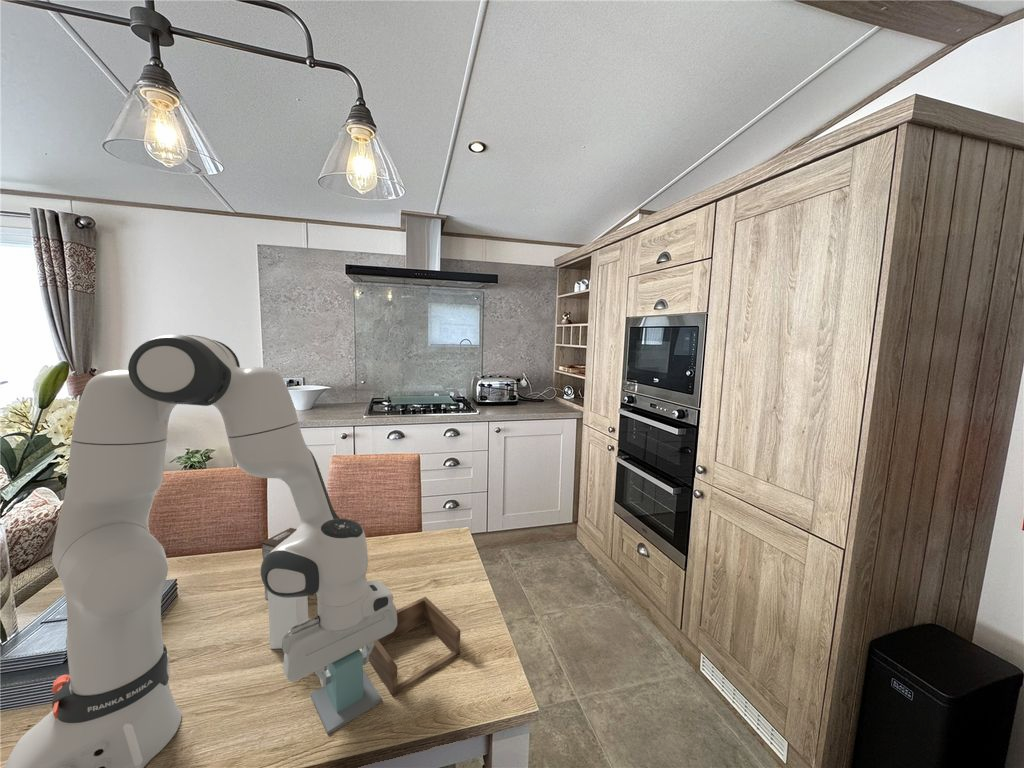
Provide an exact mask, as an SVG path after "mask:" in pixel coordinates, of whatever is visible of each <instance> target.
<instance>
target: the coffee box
mask: <svg viewBox="0 0 1024 768" xmlns="http://www.w3.org/2000/svg"><path fill="white" fill-rule="evenodd" d="M296 530H297V528H293V527H289V528H288V529H287V528H286V529H285V530H284V531H282V532H279V533H277V534H275V535H273V536H271V537H270V538H268V539H266V540H263V541H262V542H261V550H262V551H261V553H262V561H263V560H264V558H265V557H266V556H267V555H268V554H269V553H270V552H271V551H272V550H273V549H274V548H275V547H277V546H278V545H279V544H280V543H281V542H283V541H284V540H285V539H287V538H288V537H289V536H290V535H291V534H293V533H294V532H295V531H296ZM263 585H264V584H263ZM264 599H265V600H268V590H267V588H266V587H265V585H264Z"/></svg>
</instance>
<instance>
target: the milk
mask: <svg viewBox="0 0 1024 768" xmlns="http://www.w3.org/2000/svg"><path fill="white" fill-rule="evenodd" d="M308 599H309V598H308V596H304V597H291V598H285V597H279V596H276V595H274V594H272V593H271V592H269V591H268V599H267V605H268V608H267V609H268V625H269V626H268V627H269V645H270V646H269V648H270V649H271V650H273V649H277V650H278V649H279V650H280V649H282V639H283V637H284V636H285V634H286V633H287V632H289V631H290V630H291V628H292V627H294V626H296V625H298V624H302V623H304V622H306V621H308V620H309V608H308V607H309V605H308V604H309V603H308V601H309V600H308Z"/></svg>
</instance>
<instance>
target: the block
mask: <svg viewBox="0 0 1024 768" xmlns="http://www.w3.org/2000/svg"><path fill="white" fill-rule="evenodd" d="M361 652H362V650H361V649H359V650H357V651H355V652H353V653H351V654H349V655H347V656H345V657H343V658H341V659H339V660H337V661H335V662H333V663H331V664H329V665H327V666H326V670H328V671H329V673H330V674H331V683H330V684H328V685H327V688H328V696H329V699H330V701H331V703H332V705H333V707H334V709H335V711H336V713H338V712H339V711H341V710H343V709H344V708H346V707H348V706H350V705H351V704H353V703H355V702H356V701H358V700H360V699H361V698H363V670H364V665H363V654H362V653H361Z"/></svg>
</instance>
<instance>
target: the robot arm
mask: <svg viewBox="0 0 1024 768" xmlns="http://www.w3.org/2000/svg"><path fill="white" fill-rule="evenodd" d="M127 368H128V369H114V370H108V371H103V372H102V373H99V374H96V375H94V376H93V377H92V378H90V379H89V380H88V382H86V384H85V387H84V389H83V392H82V394H81V395H80V396H81V397H80V400H79V402H78V406H77V409H76V413H75V417H74V419H73V420H74V421H73V427H72V430H71V431H72V432H71V441H70V448H69V449H70V450H69V458H68V465H67V466H68V468H67V477H66V478H67V479H66V486H65V492H64V498H63V501H62V505H61V509H60V512H59V517H58V521H57V525H56V529H55V530H56V531H55V536H54V541H53V546H52V547H53V548H52V553H51V554H52V556H51V560H52V565H53V567H54V569H55V571H56V573H57V575H58V578H59V580H60V582H61V586H62V589H63V592H64V596H65V602H66V619H67V620H66V623H67V624H66V638H65V639H66V640H65V646H66V654H67V655H66V656H67V664H68V672H69V674H62V675H60V676H58V677H57V678H56V679H55V680H54V681H53V683H52V687H51V693H52V694H53V697H52V700H51V703H52V704H51V706H52V707H51V708H52V710H51V711H50V712H49V713H48V714H47V715H45V716H44V717H43V718H41V719H40V720H39V721H38V722H37V723H36V724H35V725H34V726H33V727H31V728H30V729H29V730H27V731H26V732H25V733H24V734H23V735H22V736H21V737H20V739H18V741H17V743H16V744H15V745H14V747H13V749H12V750H11V752H10V755H9V757H8V758H7V761H6V763H5V765H4V768H145V767H146V765H148V763H149V762H150V761H151V760H152V759H153V758H154V757H155V756H157V755H158V754H159V753H160V752H161V751H162V750H163V749H164V748H165V747H166V746H167V745H168V743H169V742H170V741H171V740H172V739H173V737H174V736H175V735H176V733H177V731H178V729H179V727H180V724H181V722H182V712H181V709H180V708H179V707H178V705H177V703H176V701H175V699H174V697H173V694H172V691H171V687H170V685H169V679H170V673H171V672H170V659H169V658H170V657H169V653H168V650H167V647H166V645H165V644H164V639H163V628H162V627H163V625H162V611H161V609H162V601H163V600H162V598H163V592H164V588H165V587H164V585H165V582H166V579H167V577H168V572H169V567H168V560H167V556H166V555H167V554H166V551H165V549H164V546H163V545H162V543H161V542H160V541H158V539H157V538H156V537H154V536H153V534H152V533H151V530H150V528H149V517H150V513H151V509H152V505H153V503H154V500H155V497H156V494H157V492H158V490H159V489H160V488H161V486H162V484H163V478H164V466H165V460H166V459H165V457H166V449H167V440H168V439H167V438H168V427H169V421H170V416H171V413H172V411H173V409H174V408H175V407H176V406H177V405H189V406H199V407H200V406H203V407H208V406H209V407H210V406H213V407H215V408H216V409H217V410H218V411H219V413H220V415H221V417H222V419H223V423H224V428H225V432H226V435H227V440H228V444H229V449H230V452H231V455H232V458H233V460H234V462H235V464H236V465H237V467H238V468H239V469H240V470H242V472H244V473H246V474H249V476H253V477H256V478H262V479H278V480H281V481H283V482H284V483H285V484H286V485H287V486H288V488H289V491H290V493H291V496H292V500H293V502H294V503H295V506H296V510H297V512H298V516H299V522H298V526H297V528H296V529H297V530H296V531H295V532H294V533H293V534H291V535H290V536H289V537H288V538H287V539H285V540H284V541H283V542H281V543H280V544H279V545H278V546H277V547H275V548H274V549H273V550H272V551H271V552H270V553H269V554H268V555H267V556H266V557H265V558H264V560H263V559H262V562H261V566H260V578H261V581H262V583H263V585H265V587H266V588H267V590H268V591H269V592H271V593H272V594H274V595H276V596H279V597H285V598H291V597H304V596H307V597H309V596H312V595H315V594H316V600H317V602H316V603H317V604H316V605H317V616H315V617H312V618H310V619H308V621H306V622H304V623H302V624H298V625H296V626H294V627H292V628H291V630H290V631H289V632H287V633H286V634H285V636H284V637H283V639H282V648H281V649H282V652H283V653H284V654H283V672H284V675H285V677H286V679H287V681H288V682H289V681H290V682H291V683H296V682H297V681H299V680H301V679H303V678H305V677H307V676H310V675H311V674H313V673H315V675H316V676H317V677H318V678H319V682H320V685H321V688H322V687H324V686H326V685H328V684H330V683H331V674H330V673H329V671H328V670H327V669H326V670H325V667H327V665H329V664H331V663H333V662H335V661H337V660H339V659H341V658H343V657H345V656H347V655H349V654H351V653H353V652H355V651H357V650H361V653H362V654H363V666H365V665H366V664H368V663H369V664H370V662H369V655H370V653H371V651H372V649H373V647H374V641H376V640H378V639H380V638H382V637H384V636H386V635H388V634H390V633H392V632H394V630H395V628H396V627H397V612H396V610H397V608H396V605H395V604H394V595H393V593H392V591H391V590H390V589H389V587H387V586H386V585H385V584H384V583H383V582H382V581H380V580H368V579H367V571H368V567H369V564H368V563H369V559H368V544H367V538H366V534H365V531H364V529H363V527H362V525H361V524H360V523H359V522H357V521H355V520H352V519H349V518H340V517H339V516H338V515H337V513H336V511H335V509H334V507H333V505H332V502H331V498H330V496H329V494H328V491H327V488H326V484H325V482H324V478H323V476H322V473H321V469H320V468H319V465H318V462H317V460H316V458H315V455H314V453H313V452H312V451H311V450H310V449H309V447H307V444H306V441H305V439H304V437H303V433H302V430H301V427H300V422H299V419H298V415H297V411H296V408H295V405H294V401H293V399H292V396H291V394H290V391H289V389H288V387H287V384H286V382H285V380H284V378H283V376H281V374H280V373H278V371H276V370H274V369H270V368H267V367H261V366H258V367H256V366H254V367H253V366H252V367H246V368H245V367H241V365H240V361H239V358H238V356H237V355H236V353H235V352H234V351H233V350H232V349H231V348H230V347H229V346H228V345H227V344H224V343H223V342H221V341H218V340H215V339H211V338H208V337H205V336H202V335H195V334H194V335H193V334H192V335H191V334H187V335H184V334H183V335H182V334H165V335H160V336H159V335H158V336H157V337H154V338H150V339H148V340H146V341H144V342H143V343H141V345H139V346H138V347H137V348H136V349H135V350H134V351H133V353H132V355H130V358H129V361H128V367H127ZM265 587H264V588H265ZM363 647H364V648H363ZM362 648H363V650H362Z"/></svg>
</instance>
